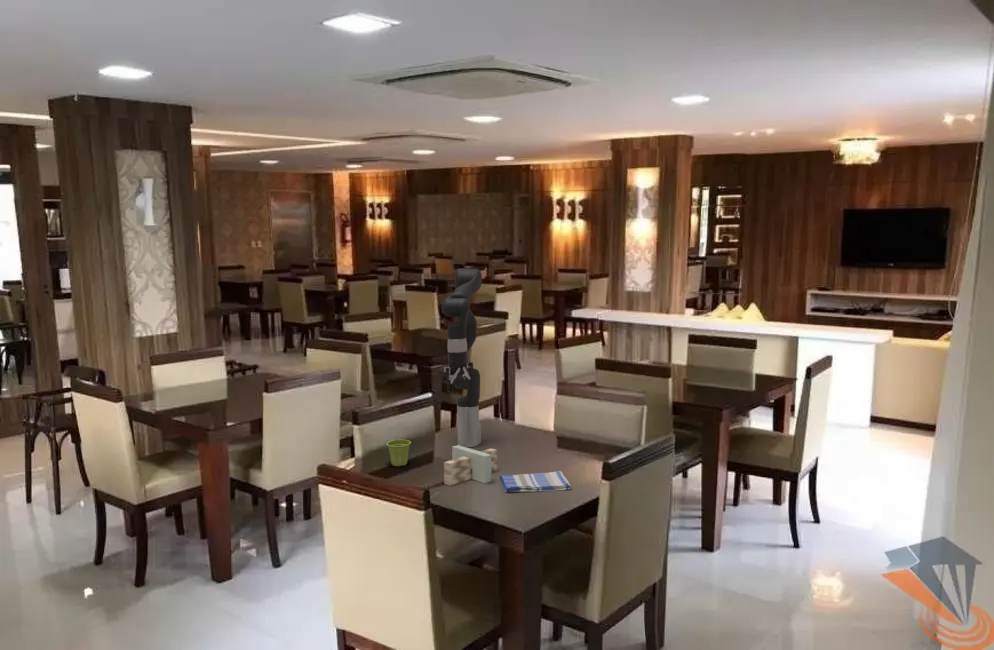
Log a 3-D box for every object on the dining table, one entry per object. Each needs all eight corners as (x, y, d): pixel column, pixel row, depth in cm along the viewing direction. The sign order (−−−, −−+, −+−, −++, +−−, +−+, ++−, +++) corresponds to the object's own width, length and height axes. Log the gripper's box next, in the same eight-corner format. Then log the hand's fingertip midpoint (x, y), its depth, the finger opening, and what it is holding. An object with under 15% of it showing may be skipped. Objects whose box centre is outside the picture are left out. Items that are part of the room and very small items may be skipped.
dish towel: (572, 491, 255) (572, 483, 255) (505, 495, 253) (505, 487, 252) (562, 475, 272) (561, 468, 272) (499, 479, 270) (499, 471, 269)
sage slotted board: (458, 470, 278) (458, 445, 277) (491, 481, 265) (490, 454, 264) (452, 472, 276) (452, 446, 275) (485, 483, 263) (484, 456, 262)
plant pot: (404, 468, 281) (404, 447, 280) (383, 466, 284) (382, 445, 283) (415, 461, 290) (414, 440, 289) (394, 459, 293) (393, 438, 292)
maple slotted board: (491, 468, 280) (491, 448, 279) (497, 470, 278) (496, 449, 277) (444, 483, 263) (443, 462, 263) (449, 485, 261) (449, 464, 260)
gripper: (464, 346, 289) (465, 386, 291) (437, 351, 279) (438, 392, 281) (477, 348, 283) (478, 389, 286) (450, 353, 273) (451, 395, 276)
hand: (458, 390), depth 283 cm, fingers open, 8 cm apart
